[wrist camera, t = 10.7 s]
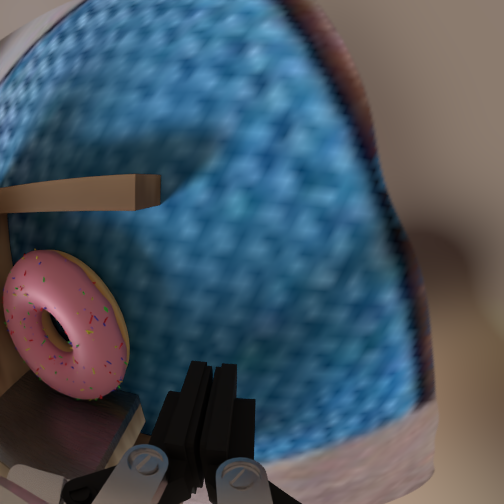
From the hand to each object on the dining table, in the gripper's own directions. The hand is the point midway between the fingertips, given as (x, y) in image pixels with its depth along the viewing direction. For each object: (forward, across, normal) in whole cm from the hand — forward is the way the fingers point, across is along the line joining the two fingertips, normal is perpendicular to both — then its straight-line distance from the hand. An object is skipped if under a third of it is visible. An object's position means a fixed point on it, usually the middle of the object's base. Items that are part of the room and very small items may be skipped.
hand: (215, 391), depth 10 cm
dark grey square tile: (+6, +12, +8) cm, 16 cm away
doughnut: (+7, +11, +2) cm, 13 cm away
